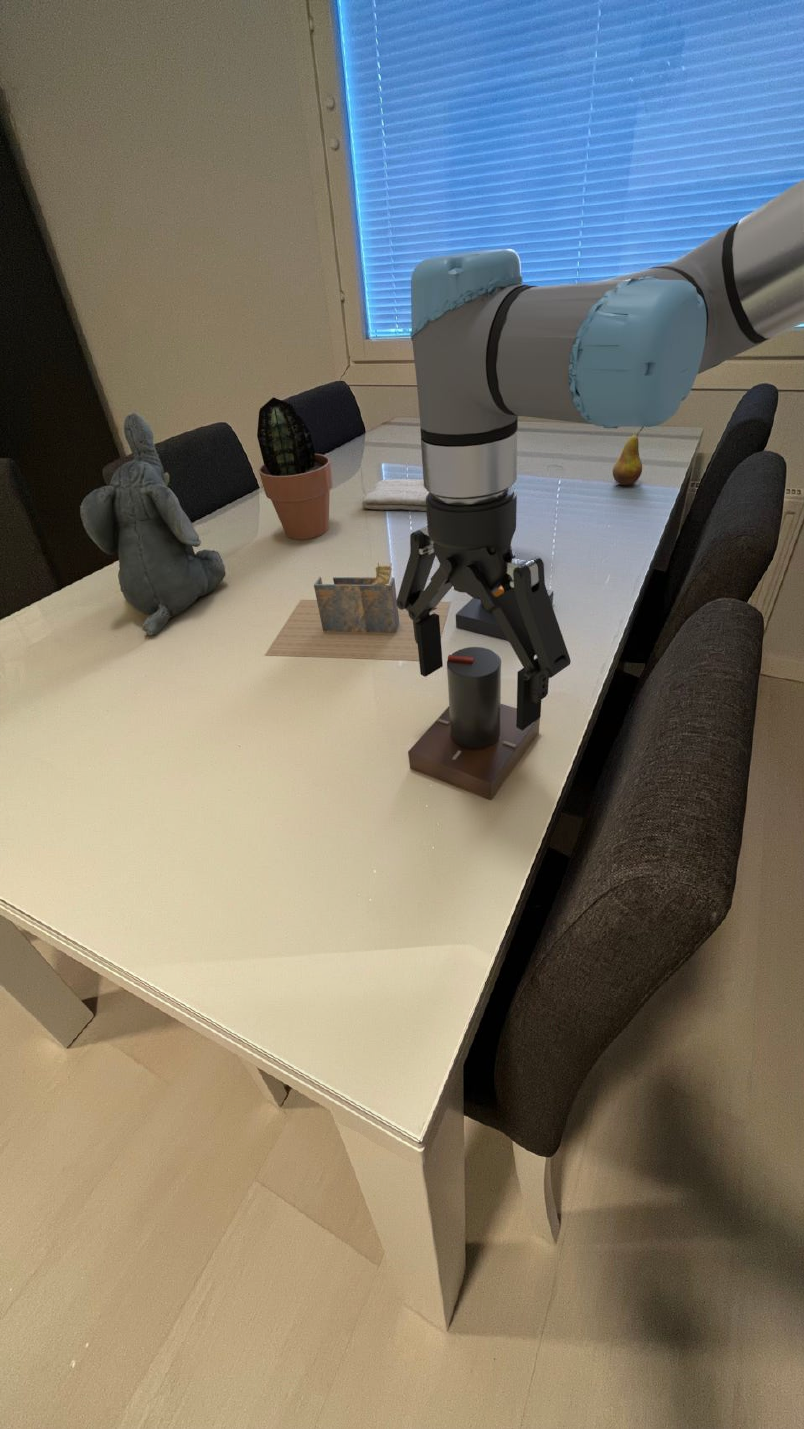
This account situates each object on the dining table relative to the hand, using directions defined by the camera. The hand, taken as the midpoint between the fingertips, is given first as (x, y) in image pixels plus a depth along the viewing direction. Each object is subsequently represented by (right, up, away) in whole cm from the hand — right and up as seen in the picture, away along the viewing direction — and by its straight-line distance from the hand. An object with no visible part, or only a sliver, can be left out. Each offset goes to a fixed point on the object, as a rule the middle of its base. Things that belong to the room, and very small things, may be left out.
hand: (476, 694), depth 63 cm
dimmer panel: (0, -6, +5) cm, 8 cm away
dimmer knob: (0, -4, +4) cm, 5 cm away
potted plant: (-27, +35, +60) cm, 75 cm away
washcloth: (-6, +44, +68) cm, 81 cm away
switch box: (+8, +13, +27) cm, 31 cm away
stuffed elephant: (-47, +18, +42) cm, 66 cm away
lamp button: (+7, +15, +25) cm, 30 cm away
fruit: (+39, +46, +64) cm, 88 cm away
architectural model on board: (-14, +11, +28) cm, 34 cm away
